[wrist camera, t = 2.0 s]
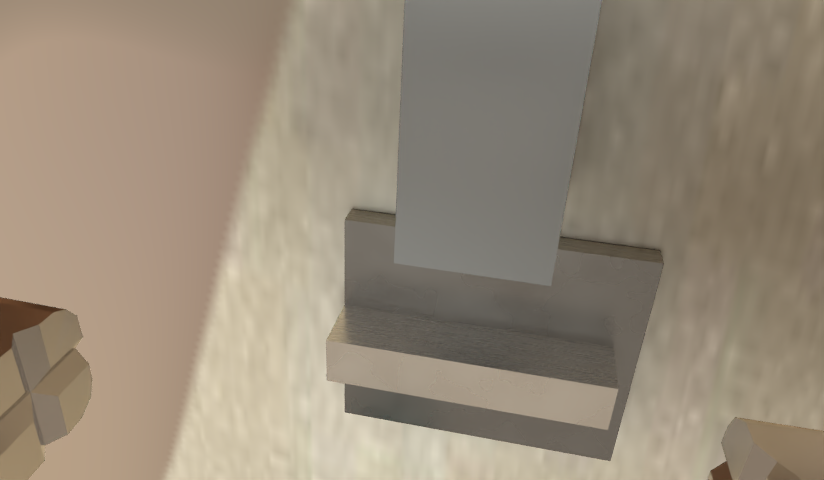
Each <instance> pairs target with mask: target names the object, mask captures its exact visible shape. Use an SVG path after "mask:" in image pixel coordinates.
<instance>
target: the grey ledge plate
mask: <svg viewBox="0 0 824 480" xmlns="http://www.w3.org/2000/svg"><path fill="white" fill-rule="evenodd" d="M395 223H396V215H392V214H385V213H377V212H370V211H363V210H355V209H352V210H351V211H350V213H349V214H348V216H347V217H346V219H345V305H344V307H343V309H342V311H341V313H340V315H339V317H338V319H337V321H336V323H335V325H334V326H333V328H332V330H331V332H330V334H329V336H328V338H327V340H326V356H327V380H328V381H334V382H339V383H345V412H346V413H352V414H357V415H363V416H368V417H374V418H379V419H384V420H390V421H395V422H401V423H406V424H412V425H417V426H423V427H428V428H433V429H439V430H444V431H450V432H455V433H461V434H466V435H472V436H477V437H482V438H488V439H493V440H499V441H504V442H510V443H515V444H521V445H526V446H531V447H537V448H542V449H548V450H553V451H559V452H564V453H570V454H575V455H580V456H586V457H591V458H597V459H602V460H608V461H610V460H611V457H612V453H613V449H614V446H615V442H616V438H617V434H618V431H619V427H620V423H621V420H622V416H623V412H624V409H625V405H626V401H627V398H628V394H629V390H630V387H631V383H632V379H633V376H634V372H635V368H636V364H637V361H638V357H639V353H640V350H641V346H642V342H643V339H644V335H645V331H646V328H647V324H648V320H649V317H650V313H651V309H652V305H653V302H654V298H655V294H656V291H657V287H658V283H659V280H660V276H661V272H662V269H663V265H664V263H663V259H662V255H661V252H660V251H659V250H651V249H644V248H637V247H629V246H622V245H614V244H607V243H599V242H592V241H585V240H577V239H570V238H562V237H560V239H559V244H558V250H557V255H556V261H555V267H554V272H553V278H552V283H551V286H546V285H539V284H533V283H526V282H519V281H512V280H505V279H498V278H492V277H485V276H478V275H471V274H464V273H458V272H451V271H444V270H437V269H430V268H423V267H417V266H410V265H403V264H396V263H394V247H395Z"/></svg>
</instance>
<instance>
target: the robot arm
mask: <svg viewBox="0 0 824 480" xmlns="http://www.w3.org/2000/svg"><path fill="white" fill-rule="evenodd" d="M82 337H83V335H82V332H81V328H80V325H79V321H78V318H77V315H75V314H73V313H71V312H70V311H68V310H66V309H61V308H56V307H50V306H45V305H40V304H33V303H29V302H23V301H18V300H13V299H7V298H2V297H0V480H28V479H29V478H30V477H31V476H32V474H33V473H34V472H35V471H36V470H37V469H38V468H39V467H40V465H41V464H42V463H43V462H44V461H45V445H47V444H49V443H51V442H53V441H55V440H57V439H59V438H61V437H63V436H65V435H68V434H69V433H70V431H71V430H72V429H73V428H74V426H75V425H76V424H77V423H78V422H79V421H80V419H81V418H82V416H83V414H84V412H85V409H86V407H87V405H88V402H89V400H90V398H91V390H92V375H91V371H90V366H89V363H88V362H87V361H86V360H85V359H84V358H83V357H82V355H81V354H80V353H79V352H78V351H77V350H76V349H75V348H76V347H77V345H78V343H79V342H80V340H81V339H82ZM721 444H722V447H723V450H724V453H725V457H726V460H727V461H726V462H724V463H722V464H721V465H719V466H717V467H716V468H714V469H712V470H711V471H710V474H709V477H708V480H824V431H821V430H815V429H808V428H802V427H795V426H789V425H782V424H776V423H770V422H763V421H757V420H750V419H744V418H737V417H735V419H734V420H733V421H732V422H731V423H730V424H729V425H728V427H727V430H726V432H725V434H724V437H723V439H722V442H721Z"/></svg>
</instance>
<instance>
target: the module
mask: <svg viewBox="0 0 824 480" xmlns="http://www.w3.org/2000/svg"><path fill="white" fill-rule="evenodd" d="M601 4H602V0H405V6H404V30H403V54H402V78H401V102H400V126H399V150H398V175H397V199H396V223H395V247H394V263H396V264H403V265H410V266H417V267H423V268H430V269H437V270H444V271H451V272H458V273H464V274H471V275H478V276H485V277H492V278H498V279H505V280H512V281H519V282H526V283H533V284H539V285H546V286H551V283H552V278H553V272H554V267H555V261H556V255H557V250H558V244H559V239H560V233H561V227H562V222H563V216H564V211H565V205H566V199H567V194H568V188H569V183H570V177H571V171H572V166H573V160H574V155H575V149H576V143H577V138H578V132H579V127H580V121H581V116H582V110H583V104H584V99H585V93H586V88H587V82H588V76H589V71H590V65H591V60H592V54H593V48H594V43H595V37H596V32H597V26H598V20H599V15H600V9H601Z"/></svg>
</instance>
